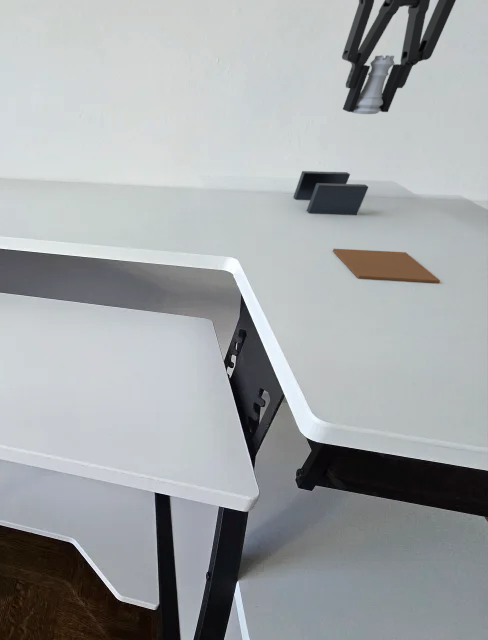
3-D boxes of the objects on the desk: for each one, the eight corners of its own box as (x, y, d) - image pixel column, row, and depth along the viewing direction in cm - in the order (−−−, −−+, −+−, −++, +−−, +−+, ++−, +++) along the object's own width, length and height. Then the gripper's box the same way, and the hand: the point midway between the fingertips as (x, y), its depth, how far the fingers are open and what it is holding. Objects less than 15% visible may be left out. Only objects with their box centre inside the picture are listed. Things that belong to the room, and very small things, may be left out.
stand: (337, 198, 97) (347, 172, 94) (356, 215, 89) (368, 186, 86) (293, 197, 99) (302, 170, 96) (308, 213, 91) (319, 185, 88)
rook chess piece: (383, 114, 81) (406, 56, 76) (352, 114, 82) (372, 57, 77) (375, 110, 84) (396, 54, 79) (345, 110, 85) (364, 55, 81)
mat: (404, 254, 75) (405, 252, 75) (439, 283, 67) (440, 280, 67) (332, 250, 77) (333, 248, 76) (357, 278, 69) (359, 275, 68)
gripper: (491, -77, 70) (412, 107, 84) (356, -69, 74) (301, 107, 87) (526, -85, 64) (435, 114, 78) (377, -76, 68) (315, 114, 81)
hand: (364, 110), depth 83 cm, fingers closed on rook chess piece, 4 cm apart
